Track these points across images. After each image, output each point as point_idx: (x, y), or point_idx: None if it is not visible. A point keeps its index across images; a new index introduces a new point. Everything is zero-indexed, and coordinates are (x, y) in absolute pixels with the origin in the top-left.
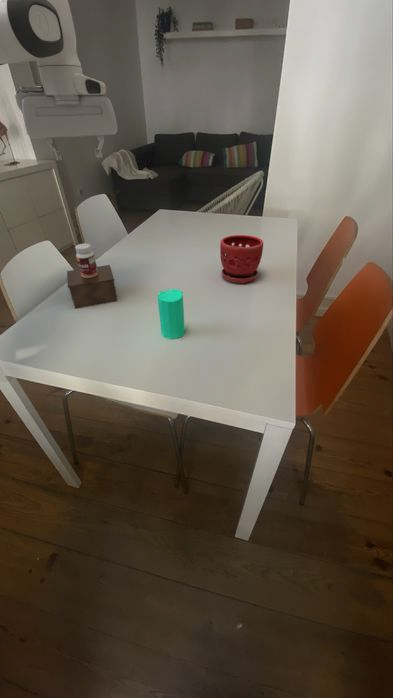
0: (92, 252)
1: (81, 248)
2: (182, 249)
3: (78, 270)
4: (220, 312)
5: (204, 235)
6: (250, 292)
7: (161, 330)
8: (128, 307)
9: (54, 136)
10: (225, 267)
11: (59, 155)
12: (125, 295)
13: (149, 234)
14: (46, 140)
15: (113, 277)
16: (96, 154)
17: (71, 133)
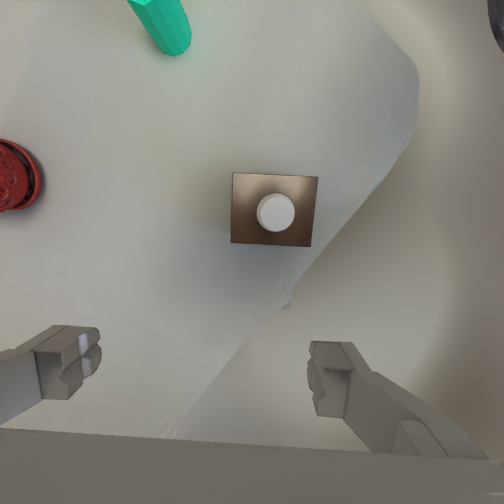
0: (259, 209)
1: (282, 198)
2: None
3: (290, 240)
4: (82, 63)
5: None
6: (12, 110)
7: (188, 25)
8: (225, 148)
9: (404, 458)
10: (18, 167)
11: (329, 352)
12: (222, 193)
13: (135, 426)
14: (475, 448)
15: (232, 179)
16: (80, 334)
17: (167, 465)
